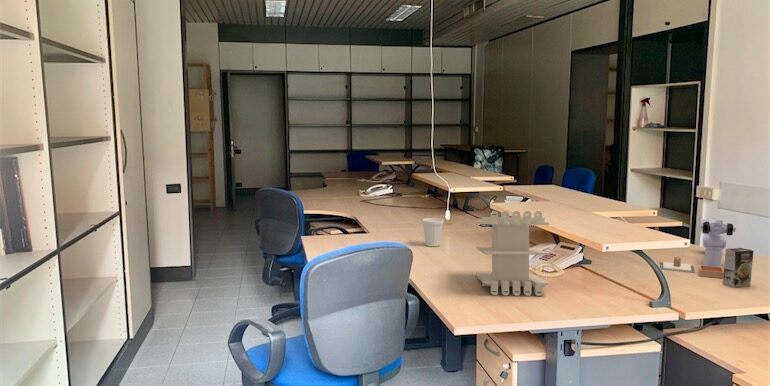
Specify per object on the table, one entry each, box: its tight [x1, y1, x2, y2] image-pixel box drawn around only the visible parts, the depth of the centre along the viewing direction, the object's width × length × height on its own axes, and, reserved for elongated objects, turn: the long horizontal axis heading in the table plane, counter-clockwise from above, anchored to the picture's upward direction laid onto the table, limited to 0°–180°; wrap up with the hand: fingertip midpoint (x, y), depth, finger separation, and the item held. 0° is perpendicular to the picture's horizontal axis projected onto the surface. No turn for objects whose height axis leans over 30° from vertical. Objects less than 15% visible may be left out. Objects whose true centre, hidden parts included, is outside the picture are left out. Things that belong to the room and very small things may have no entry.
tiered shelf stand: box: [475, 210, 550, 297], centre depth 244 cm, size 26×31×35 cm
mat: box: [659, 261, 696, 274], centre depth 271 cm, size 15×15×1 cm
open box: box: [697, 264, 724, 280], centre depth 258 cm, size 10×10×4 cm
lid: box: [662, 256, 692, 273], centre depth 271 cm, size 12×12×5 cm
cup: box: [421, 217, 445, 248], centre depth 320 cm, size 12×12×15 cm
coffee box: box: [722, 247, 755, 289], centre depth 242 cm, size 9×6×16 cm
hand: (719, 229), depth 256 cm, fingers open, 7 cm apart
